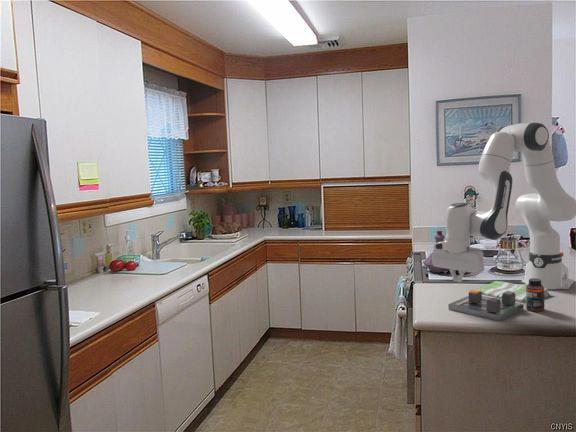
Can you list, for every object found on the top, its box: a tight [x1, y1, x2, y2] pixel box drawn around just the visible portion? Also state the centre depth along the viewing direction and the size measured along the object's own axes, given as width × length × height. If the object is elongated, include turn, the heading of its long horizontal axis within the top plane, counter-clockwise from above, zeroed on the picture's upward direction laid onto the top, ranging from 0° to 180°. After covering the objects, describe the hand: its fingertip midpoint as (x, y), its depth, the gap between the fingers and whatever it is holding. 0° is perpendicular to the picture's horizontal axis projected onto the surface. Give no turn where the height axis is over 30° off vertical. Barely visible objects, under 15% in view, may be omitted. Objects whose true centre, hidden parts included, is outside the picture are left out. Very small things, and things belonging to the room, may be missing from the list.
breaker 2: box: [501, 291, 516, 305], centre depth 177 cm, size 4×3×4 cm
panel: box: [447, 295, 525, 322], centre depth 178 cm, size 17×20×2 cm
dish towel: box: [475, 280, 549, 304], centre depth 196 cm, size 17×23×4 cm
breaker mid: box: [468, 288, 483, 303], centre depth 181 cm, size 4×3×4 cm
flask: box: [422, 230, 450, 273], centre depth 238 cm, size 16×16×20 cm
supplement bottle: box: [525, 278, 545, 313], centre depth 174 cm, size 6×6×11 cm
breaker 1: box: [487, 297, 501, 313], centre depth 170 cm, size 4×3×4 cm
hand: (457, 281), depth 186 cm, fingers closed
